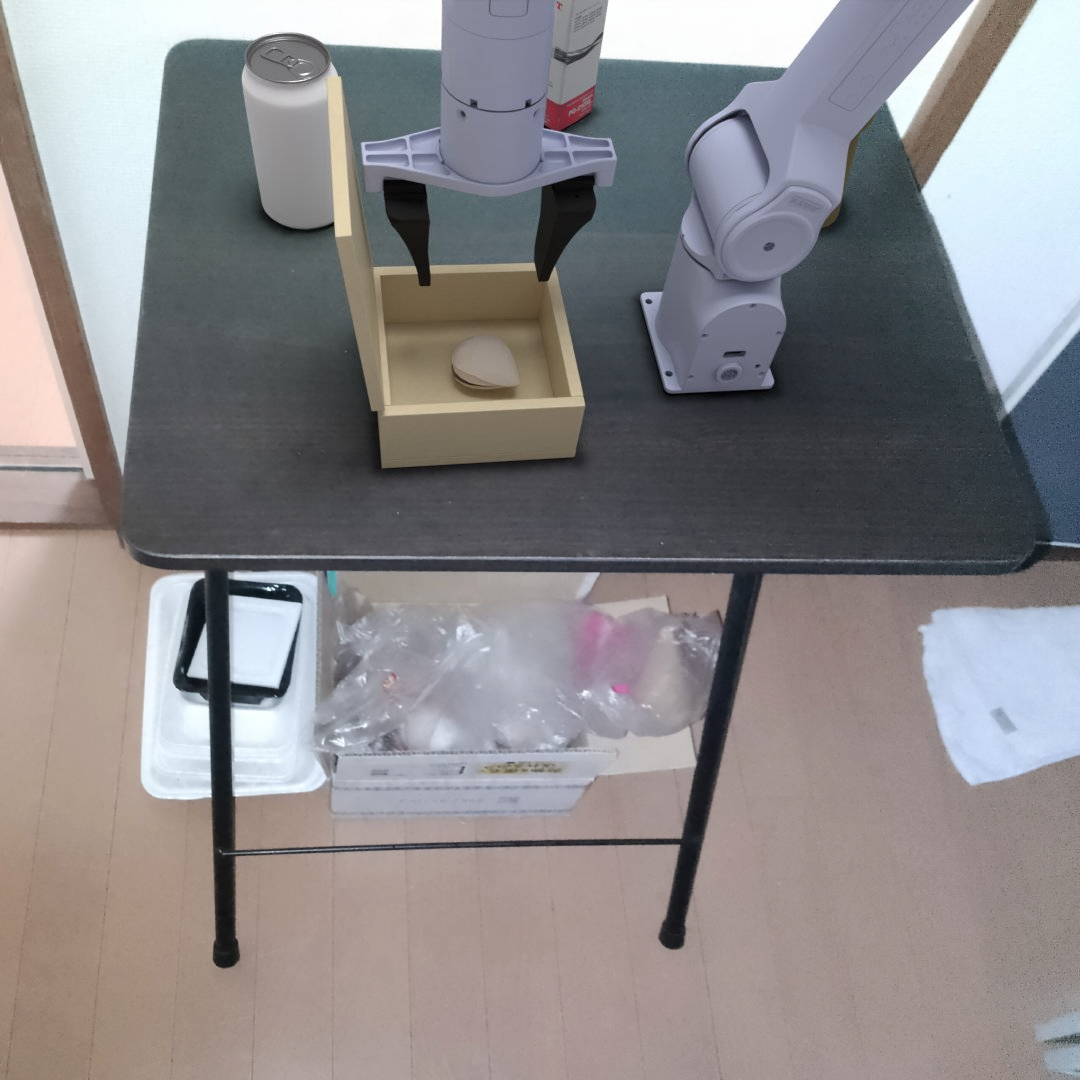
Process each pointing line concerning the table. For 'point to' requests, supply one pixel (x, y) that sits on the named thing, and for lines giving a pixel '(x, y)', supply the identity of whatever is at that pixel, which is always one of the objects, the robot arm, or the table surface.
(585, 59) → the ink box
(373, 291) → the box lid
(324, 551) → the table surface
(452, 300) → the beige box
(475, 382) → the clam shell
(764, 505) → the table surface
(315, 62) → the can
